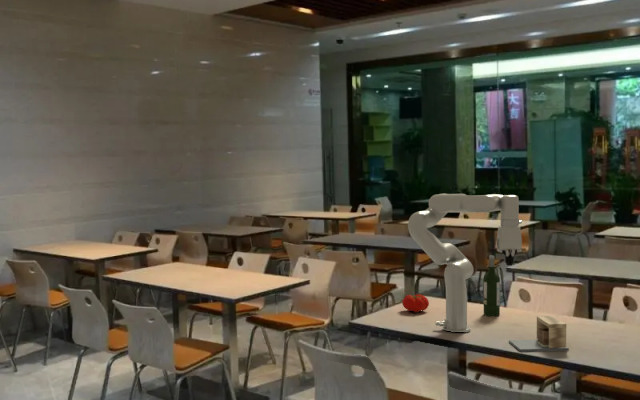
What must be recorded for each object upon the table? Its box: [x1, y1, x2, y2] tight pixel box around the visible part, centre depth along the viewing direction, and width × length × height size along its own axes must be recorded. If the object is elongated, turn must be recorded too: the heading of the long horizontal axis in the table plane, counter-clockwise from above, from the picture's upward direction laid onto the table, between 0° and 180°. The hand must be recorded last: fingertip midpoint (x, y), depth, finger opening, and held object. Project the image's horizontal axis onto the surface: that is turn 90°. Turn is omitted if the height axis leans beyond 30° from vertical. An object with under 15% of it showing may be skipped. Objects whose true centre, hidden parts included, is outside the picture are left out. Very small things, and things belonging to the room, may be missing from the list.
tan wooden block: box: [536, 315, 567, 348], centre depth 279 cm, size 7×14×10 cm, turn 2°
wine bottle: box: [483, 255, 501, 317], centre depth 337 cm, size 8×8×30 cm
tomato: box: [401, 293, 430, 313], centre depth 346 cm, size 14×13×9 cm
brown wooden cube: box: [538, 328, 549, 345], centre depth 279 cm, size 6×6×6 cm
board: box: [508, 338, 570, 353], centre depth 279 cm, size 20×14×4 cm
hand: (509, 265), depth 293 cm, fingers closed
